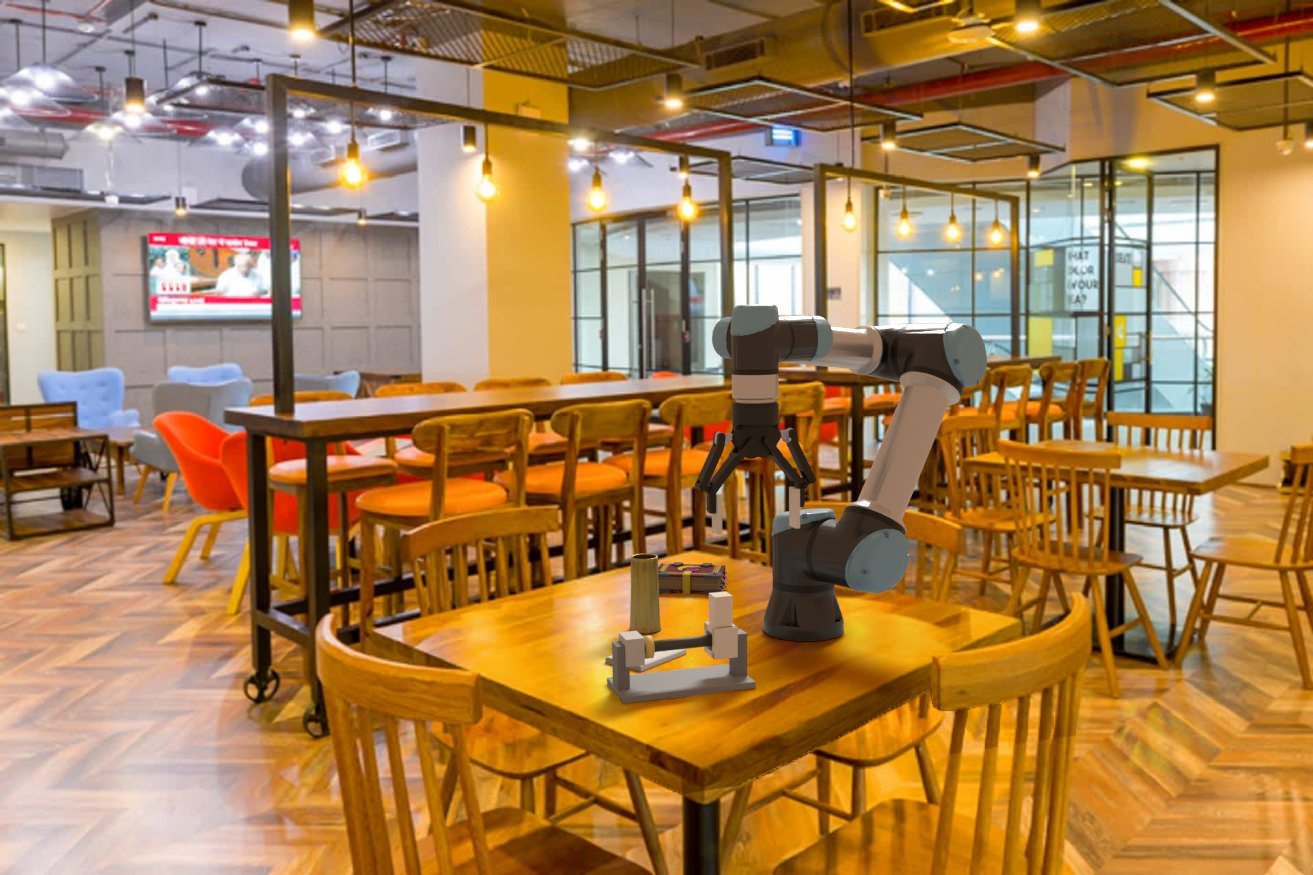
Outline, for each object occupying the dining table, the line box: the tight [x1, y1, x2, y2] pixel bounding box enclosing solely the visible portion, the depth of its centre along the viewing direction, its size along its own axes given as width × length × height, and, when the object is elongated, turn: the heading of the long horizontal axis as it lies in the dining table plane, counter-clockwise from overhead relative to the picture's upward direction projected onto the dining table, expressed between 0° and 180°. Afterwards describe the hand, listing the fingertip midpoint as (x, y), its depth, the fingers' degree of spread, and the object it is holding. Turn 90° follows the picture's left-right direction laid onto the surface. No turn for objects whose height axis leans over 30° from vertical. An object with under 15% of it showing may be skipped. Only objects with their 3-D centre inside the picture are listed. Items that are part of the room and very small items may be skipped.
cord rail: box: [606, 628, 757, 704], centre depth 178 cm, size 22×10×9 cm, turn 107°
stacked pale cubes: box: [703, 591, 739, 661], centre depth 179 cm, size 4×5×10 cm
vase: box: [629, 553, 662, 635], centre depth 210 cm, size 6×6×14 cm
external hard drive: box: [604, 649, 687, 673], centre depth 193 cm, size 2×8×12 cm
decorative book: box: [658, 561, 729, 595], centre depth 243 cm, size 11×16×5 cm
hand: (756, 530), depth 180 cm, fingers open, 13 cm apart
